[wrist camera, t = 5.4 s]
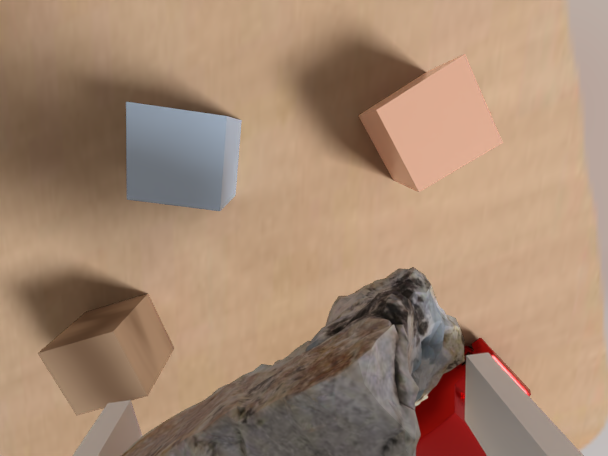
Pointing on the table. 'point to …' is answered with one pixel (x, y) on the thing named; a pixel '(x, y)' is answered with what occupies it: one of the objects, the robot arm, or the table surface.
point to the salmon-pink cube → (432, 125)
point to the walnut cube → (109, 354)
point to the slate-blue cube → (181, 156)
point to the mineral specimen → (330, 384)
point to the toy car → (452, 412)
